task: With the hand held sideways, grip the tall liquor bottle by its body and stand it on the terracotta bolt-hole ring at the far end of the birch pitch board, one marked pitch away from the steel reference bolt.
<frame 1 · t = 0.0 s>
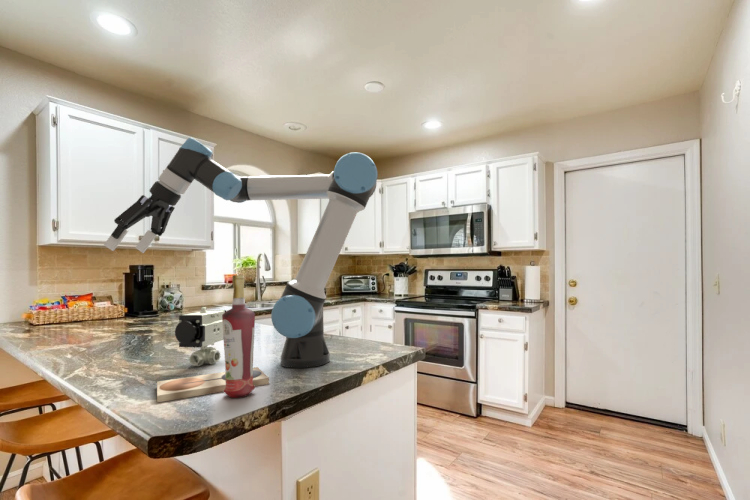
hand: (125, 249, 109), 36 cm above the countertop, tool tilted 35°, fingers open, 13 cm apart
ball valve: (205, 364, 123), on the countertop
liquor: (239, 395, 91), on the countertop
pitch board: (213, 385, 99), on the countertop
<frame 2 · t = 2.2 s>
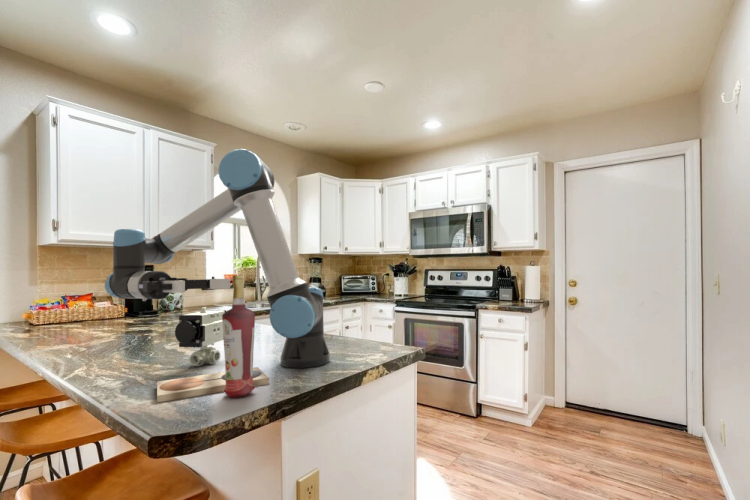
hand: (207, 285, 96), 26 cm above the countertop, tool horizontal, fingers open, 13 cm apart
nothing on the countertop moved.
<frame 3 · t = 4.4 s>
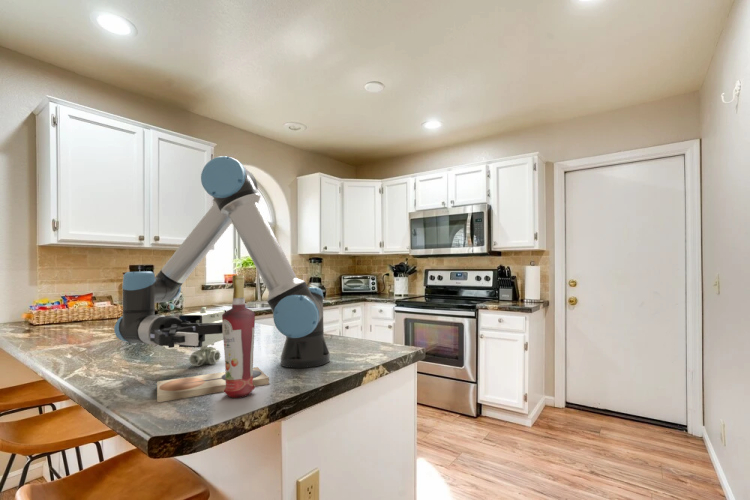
hand: (221, 334, 93), 14 cm above the countertop, tool horizontal, fingers open, 13 cm apart
nothing on the countertop moved.
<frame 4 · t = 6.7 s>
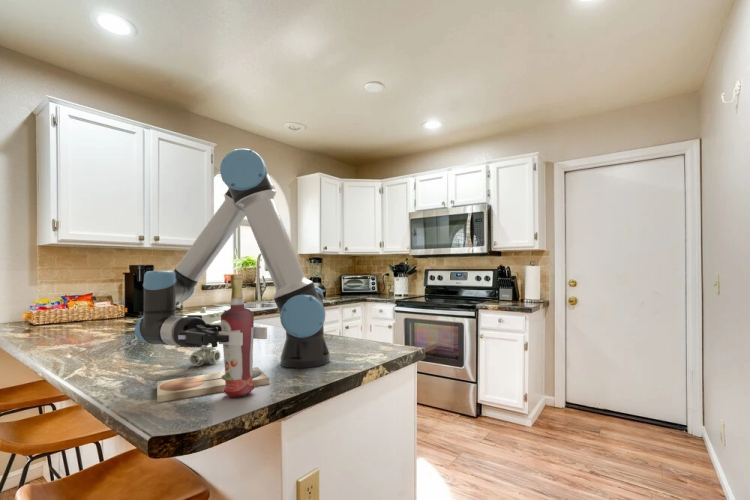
hand: (254, 336, 89), 14 cm above the countertop, tool horizontal, fingers closed on liquor, 7 cm apart
liquor: (239, 395, 91), on the countertop, touching gripper
everything else where it was.
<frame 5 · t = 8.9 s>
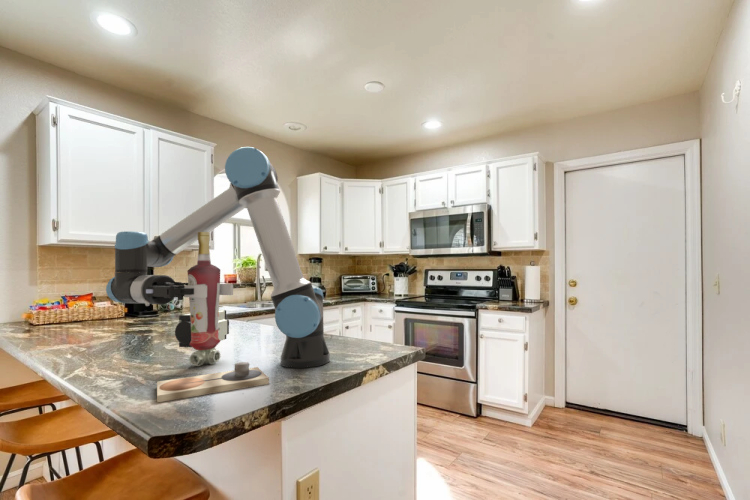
hand: (219, 290, 92), 25 cm above the countertop, tool horizontal, fingers closed on liquor, 7 cm apart
liquor: (205, 348, 94), point 10 cm above the countertop, touching gripper
everything else where it was.
when the fingers open (17 cm above the countertop, at t = 11.4 s): liquor drops 2 cm, resting on pitch board.
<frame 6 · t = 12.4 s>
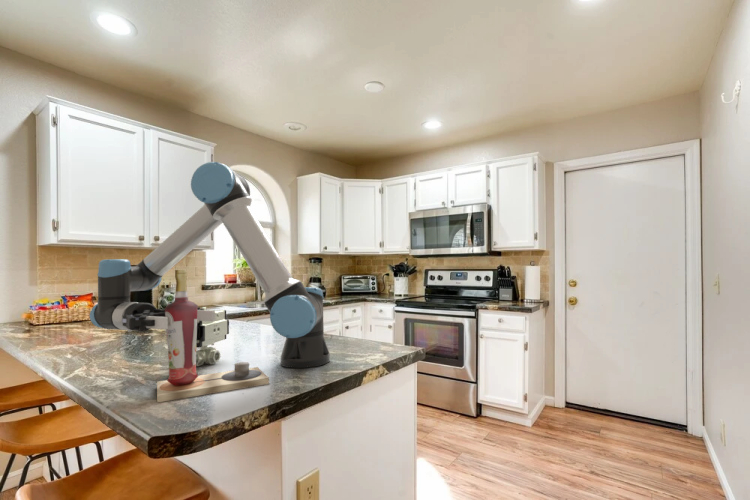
hand: (191, 319, 95), 18 cm above the countertop, tool horizontal, fingers open, 13 cm apart
liquor: (183, 384, 96), point 1 cm above the countertop, touching pitch board
everything else where it was.
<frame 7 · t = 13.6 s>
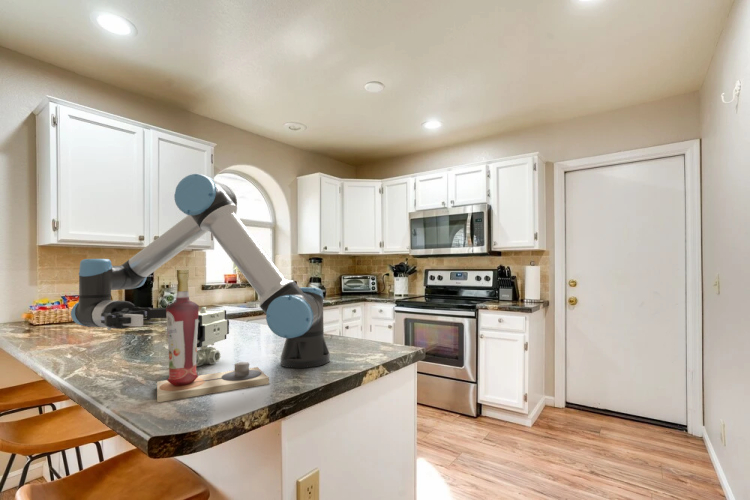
hand: (167, 317, 98), 18 cm above the countertop, tool horizontal, fingers open, 13 cm apart
nothing on the countertop moved.
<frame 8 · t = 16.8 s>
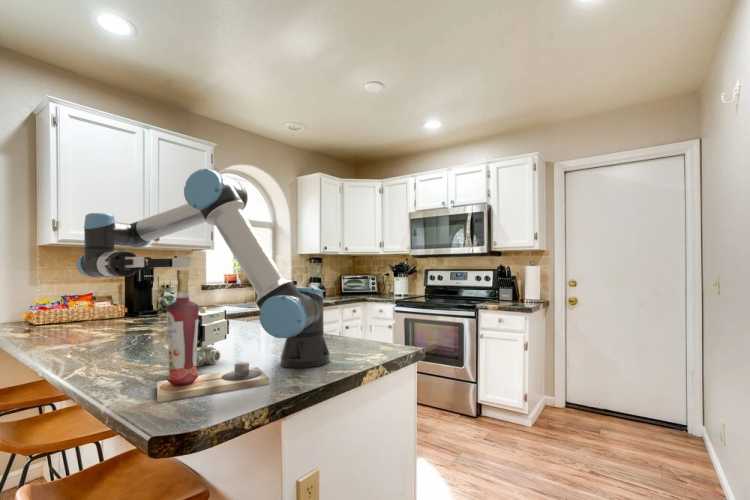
hand: (167, 261, 105), 32 cm above the countertop, tool horizontal, fingers open, 13 cm apart
nothing on the countertop moved.
at the end: liquor 0.4 cm from the target spot on the pitch board, point 1.4 cm above the pitch board's base; liquor tilted 0°; the gripper is holding nothing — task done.
